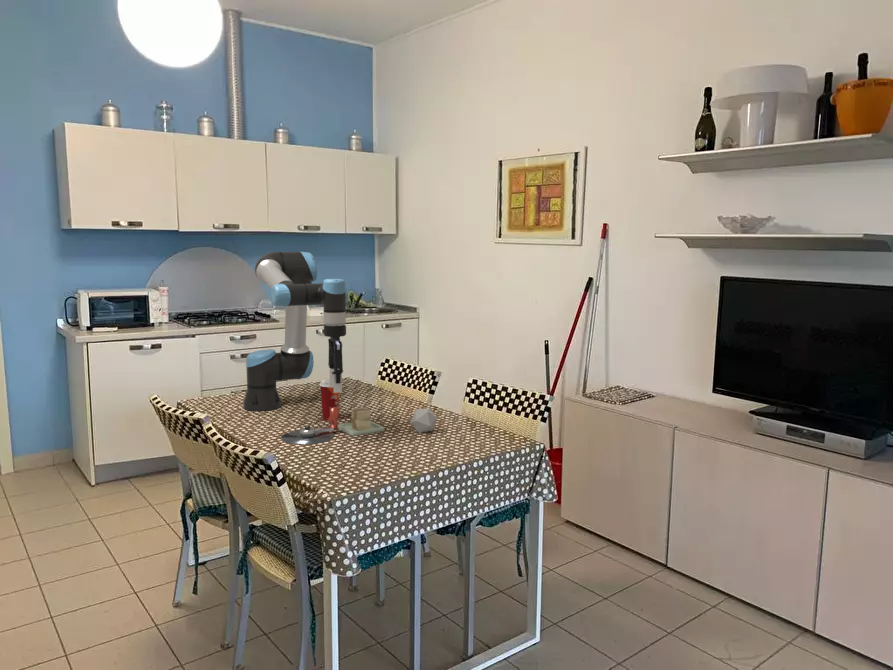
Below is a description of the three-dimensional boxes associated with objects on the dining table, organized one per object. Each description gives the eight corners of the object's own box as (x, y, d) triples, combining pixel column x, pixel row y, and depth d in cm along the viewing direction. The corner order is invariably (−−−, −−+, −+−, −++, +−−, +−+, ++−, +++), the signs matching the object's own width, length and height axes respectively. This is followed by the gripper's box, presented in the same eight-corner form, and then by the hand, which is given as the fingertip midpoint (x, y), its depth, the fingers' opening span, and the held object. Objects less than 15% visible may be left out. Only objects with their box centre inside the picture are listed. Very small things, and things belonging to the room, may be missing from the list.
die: (431, 428, 251) (414, 407, 250) (445, 420, 245) (429, 399, 244) (418, 441, 245) (402, 419, 244) (433, 434, 239) (416, 411, 238)
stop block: (351, 428, 246) (351, 409, 245) (364, 426, 249) (364, 407, 248) (357, 431, 242) (357, 412, 241) (370, 429, 244) (370, 410, 244)
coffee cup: (337, 422, 255) (336, 383, 253) (316, 421, 257) (315, 382, 255) (344, 417, 264) (344, 379, 262) (324, 415, 265) (324, 378, 263)
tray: (337, 428, 247) (337, 424, 247) (368, 423, 254) (368, 419, 254) (352, 436, 237) (352, 432, 237) (384, 431, 244) (384, 427, 243)
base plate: (274, 435, 238) (273, 424, 237) (321, 428, 248) (321, 417, 247) (292, 448, 223) (292, 436, 222) (342, 440, 233) (342, 428, 232)
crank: (303, 438, 232) (303, 413, 231) (298, 434, 236) (297, 410, 235) (340, 432, 240) (340, 408, 238) (334, 428, 244) (334, 405, 242)
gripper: (351, 327, 221) (352, 395, 224) (340, 320, 241) (341, 383, 244) (328, 328, 219) (329, 396, 222) (319, 321, 238) (320, 384, 241)
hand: (335, 389), depth 233 cm, fingers open, 8 cm apart
